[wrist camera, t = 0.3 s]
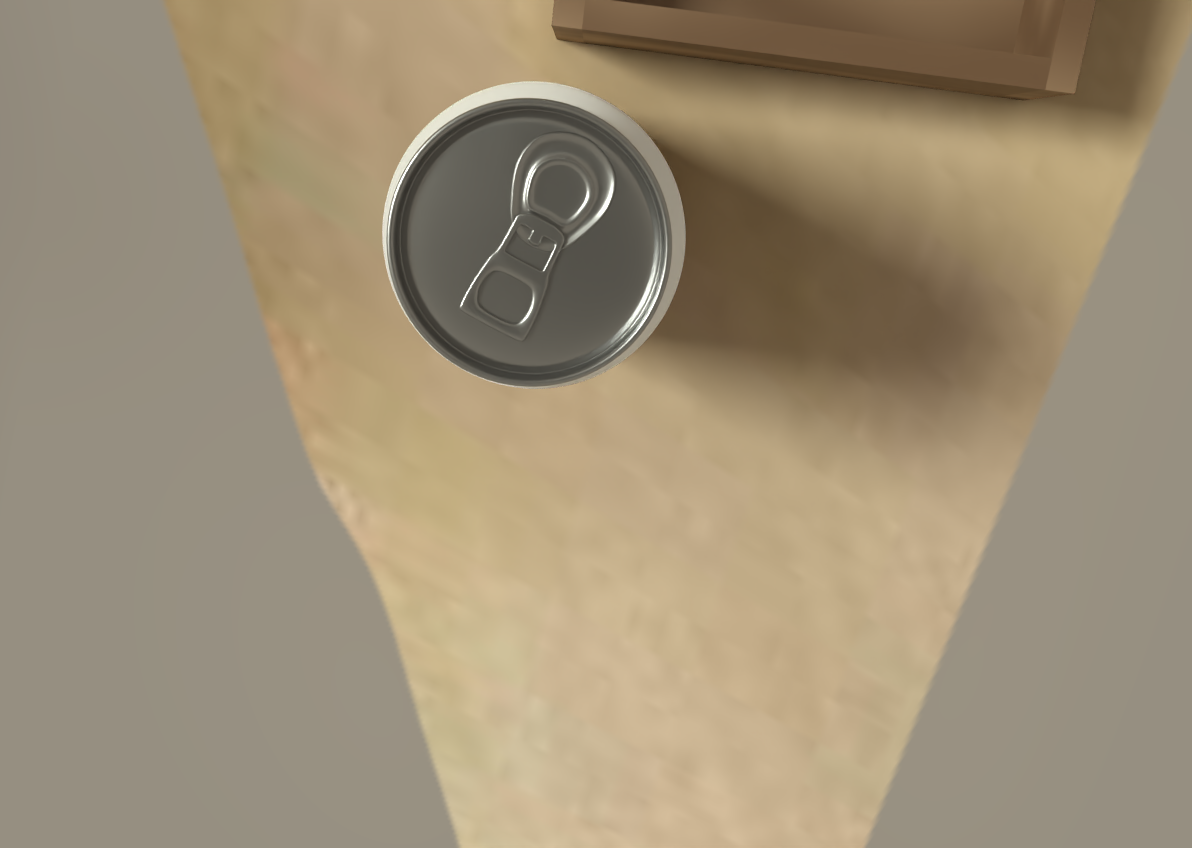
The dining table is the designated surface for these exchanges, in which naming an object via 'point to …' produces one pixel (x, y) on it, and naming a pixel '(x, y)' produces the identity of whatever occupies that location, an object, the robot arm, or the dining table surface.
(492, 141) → the can
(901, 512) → the dining table surface
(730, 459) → the dining table surface
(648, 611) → the dining table surface
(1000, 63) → the walled box
